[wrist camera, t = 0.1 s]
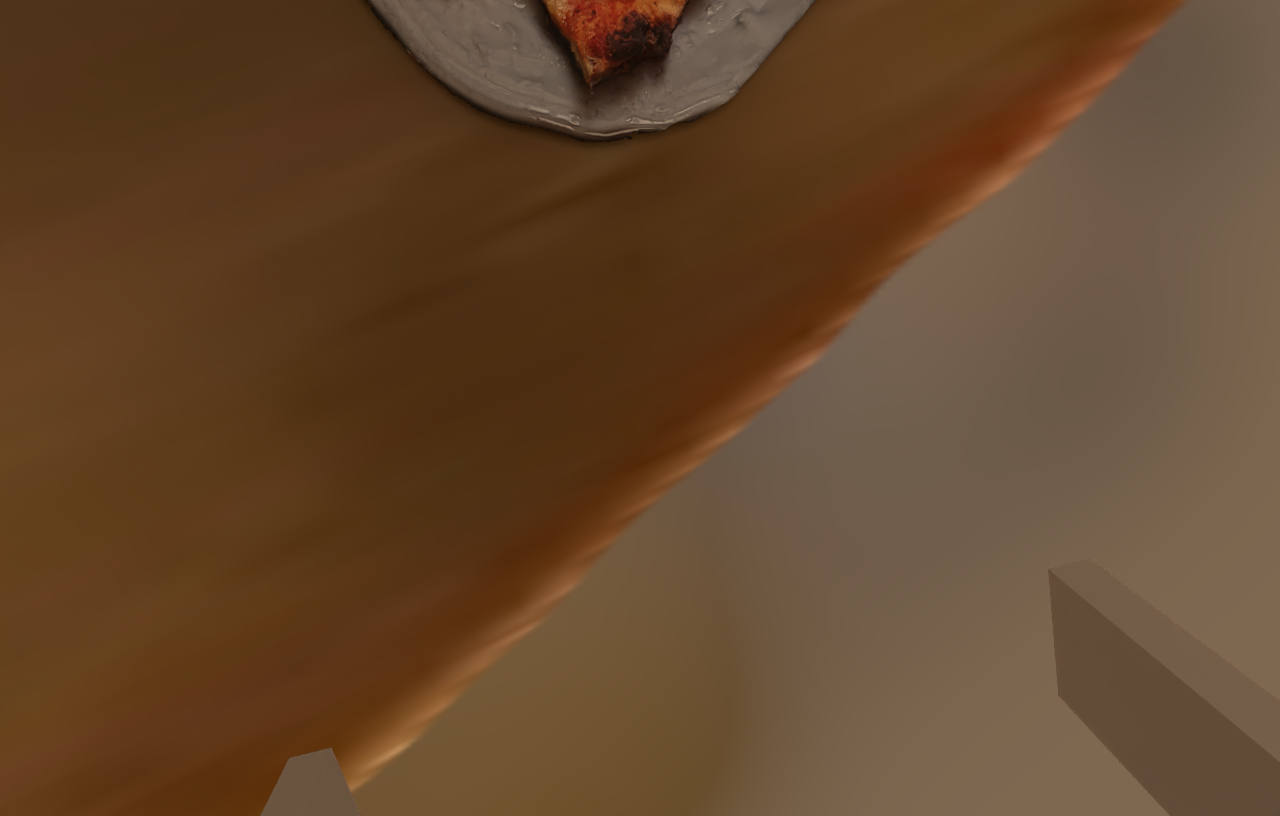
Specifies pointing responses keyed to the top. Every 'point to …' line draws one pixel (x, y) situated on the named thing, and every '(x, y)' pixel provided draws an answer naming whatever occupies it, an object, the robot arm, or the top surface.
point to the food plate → (591, 56)
